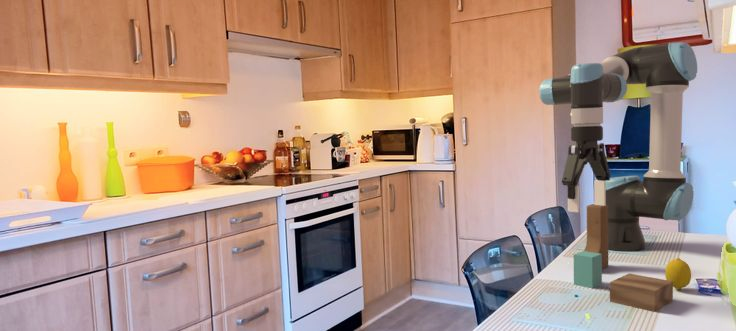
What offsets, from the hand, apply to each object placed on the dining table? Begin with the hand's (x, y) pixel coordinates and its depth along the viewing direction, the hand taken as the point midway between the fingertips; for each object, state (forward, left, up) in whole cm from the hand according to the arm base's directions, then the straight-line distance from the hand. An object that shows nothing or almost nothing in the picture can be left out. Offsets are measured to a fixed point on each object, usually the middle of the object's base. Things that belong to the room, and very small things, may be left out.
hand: (587, 208), depth 139 cm
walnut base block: (+4, +15, -20) cm, 26 cm away
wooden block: (-15, -6, -20) cm, 26 cm away
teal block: (0, 0, -20) cm, 20 cm away
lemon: (-10, +18, -20) cm, 29 cm away
